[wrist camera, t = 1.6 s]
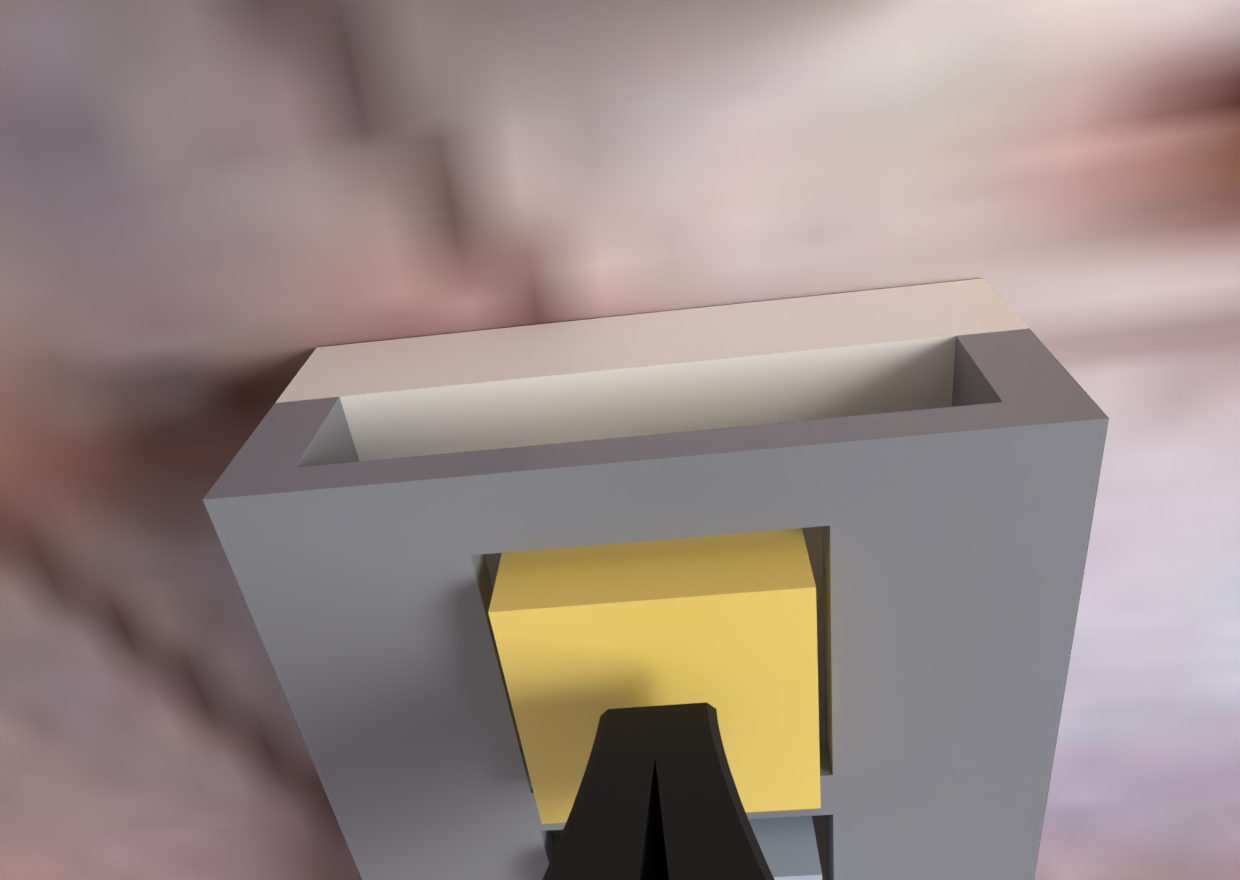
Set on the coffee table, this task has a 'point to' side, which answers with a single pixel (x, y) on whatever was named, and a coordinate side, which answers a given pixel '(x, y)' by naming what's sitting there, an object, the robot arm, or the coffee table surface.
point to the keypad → (678, 508)
